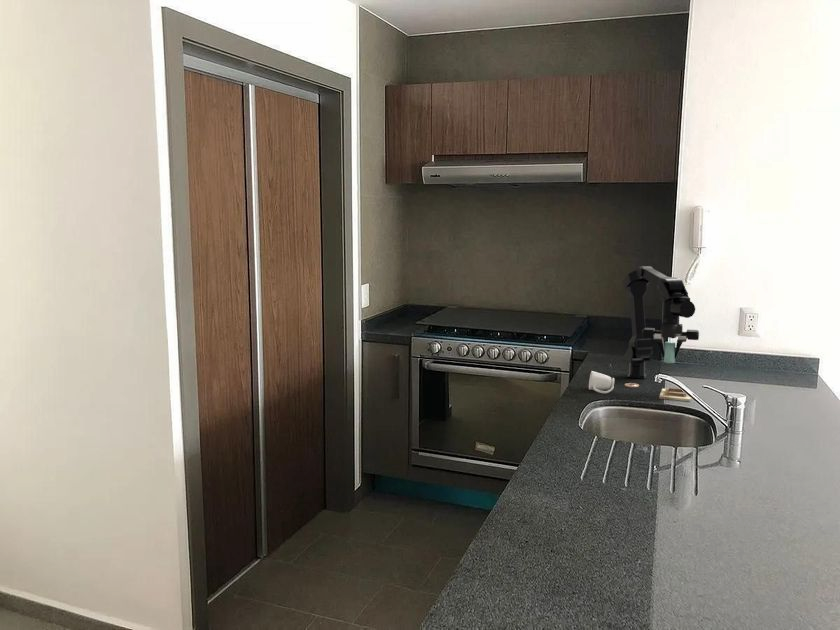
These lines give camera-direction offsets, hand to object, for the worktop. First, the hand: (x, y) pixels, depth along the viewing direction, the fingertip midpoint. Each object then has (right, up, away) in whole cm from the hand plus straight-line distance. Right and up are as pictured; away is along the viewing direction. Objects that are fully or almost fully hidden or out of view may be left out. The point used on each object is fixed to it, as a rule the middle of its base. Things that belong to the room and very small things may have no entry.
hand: (669, 357), depth 249 cm
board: (0, -13, -6) cm, 14 cm away
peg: (0, -2, 0) cm, 2 cm away
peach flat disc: (-11, -11, +9) cm, 18 cm away
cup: (-19, -10, +2) cm, 22 cm away
